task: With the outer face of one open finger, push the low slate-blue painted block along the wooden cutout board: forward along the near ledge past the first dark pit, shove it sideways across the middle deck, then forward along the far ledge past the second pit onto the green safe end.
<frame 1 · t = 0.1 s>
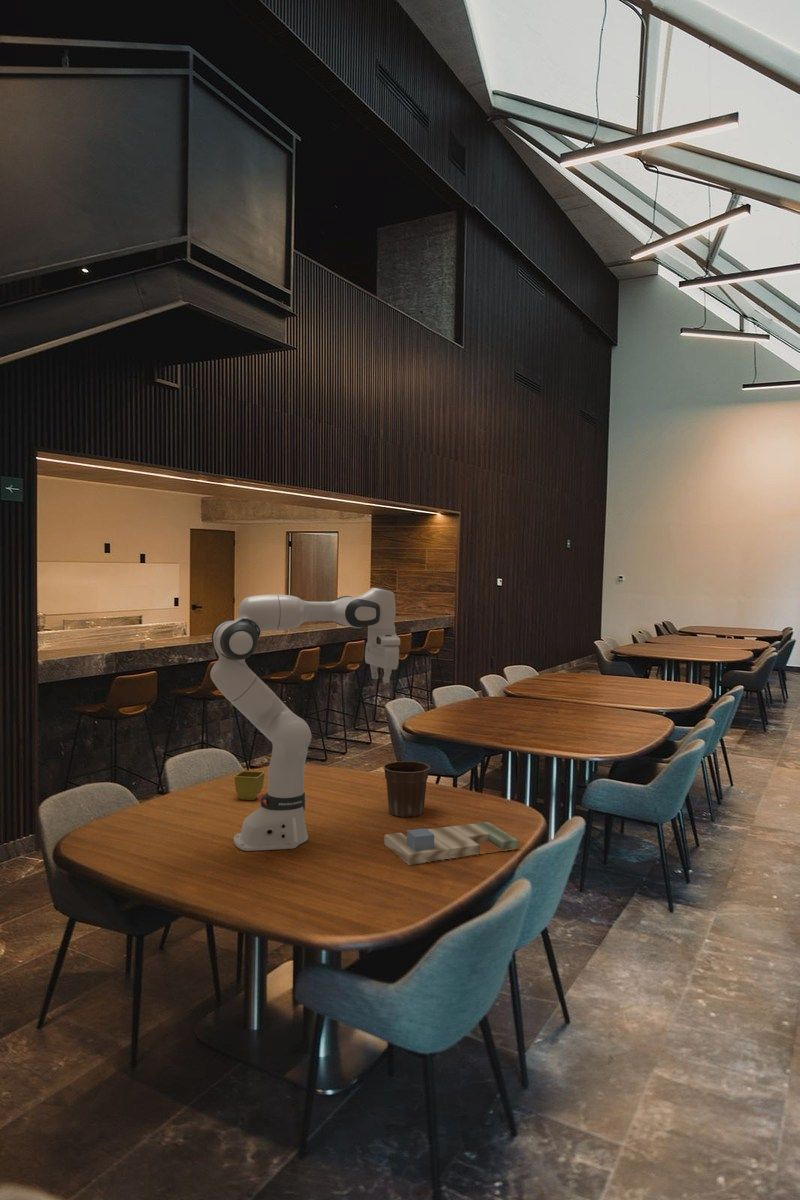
hand: (380, 680, 246), 48 cm above the table, fingers open, 8 cm apart
wooden cutout board: (450, 847, 231), on the table
flower pot: (249, 799, 276), on the table
plant pot: (405, 812, 264), on the table
slate block: (420, 846, 222), point 3 cm above the table, touching wooden cutout board
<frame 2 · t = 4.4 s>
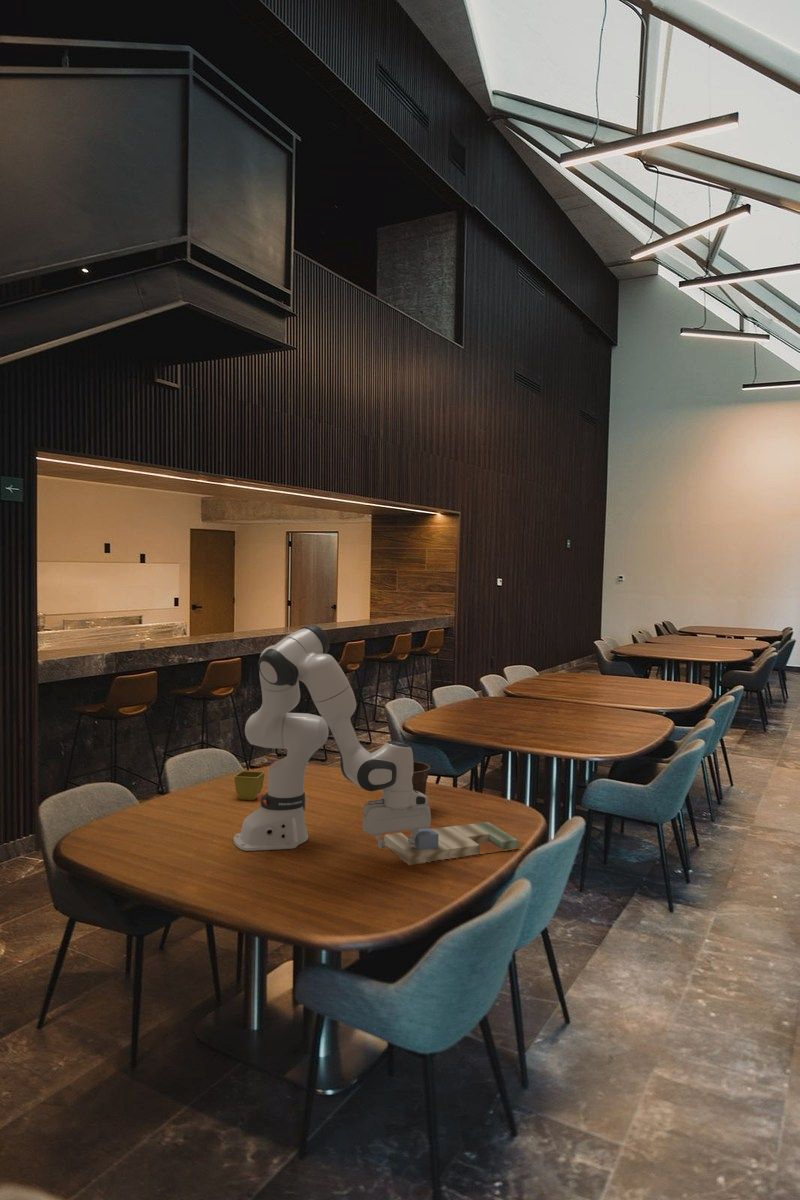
hand: (396, 845, 219), 4 cm above the table, fingers open, 8 cm apart
slate block: (424, 845, 223), point 3 cm above the table, touching gripper
everything else where it was.
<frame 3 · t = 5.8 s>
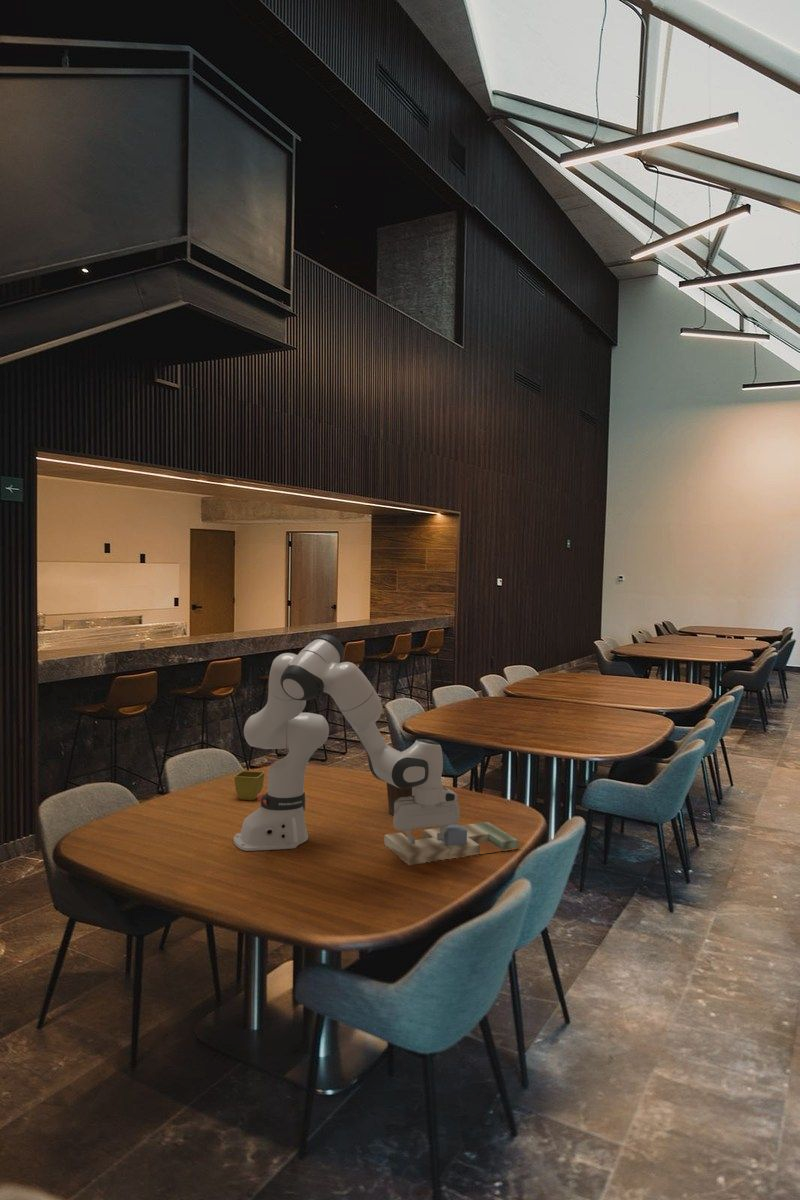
hand: (426, 841, 223), 4 cm above the table, fingers open, 8 cm apart
slate block: (452, 841, 227), point 3 cm above the table, touching gripper, wooden cutout board
everything else where it was.
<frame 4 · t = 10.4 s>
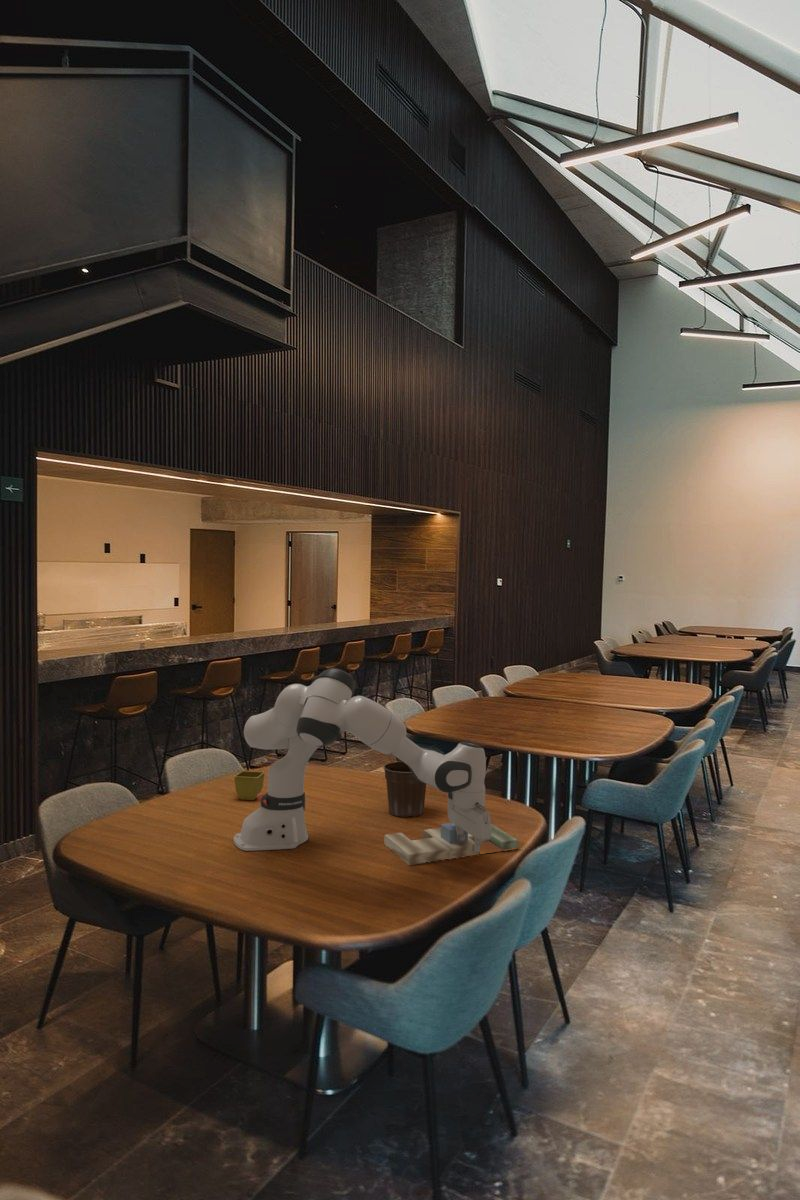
hand: (468, 845, 220), 4 cm above the table, fingers open, 8 cm apart
slate block: (454, 839, 229), point 3 cm above the table, touching gripper
everything else where it was.
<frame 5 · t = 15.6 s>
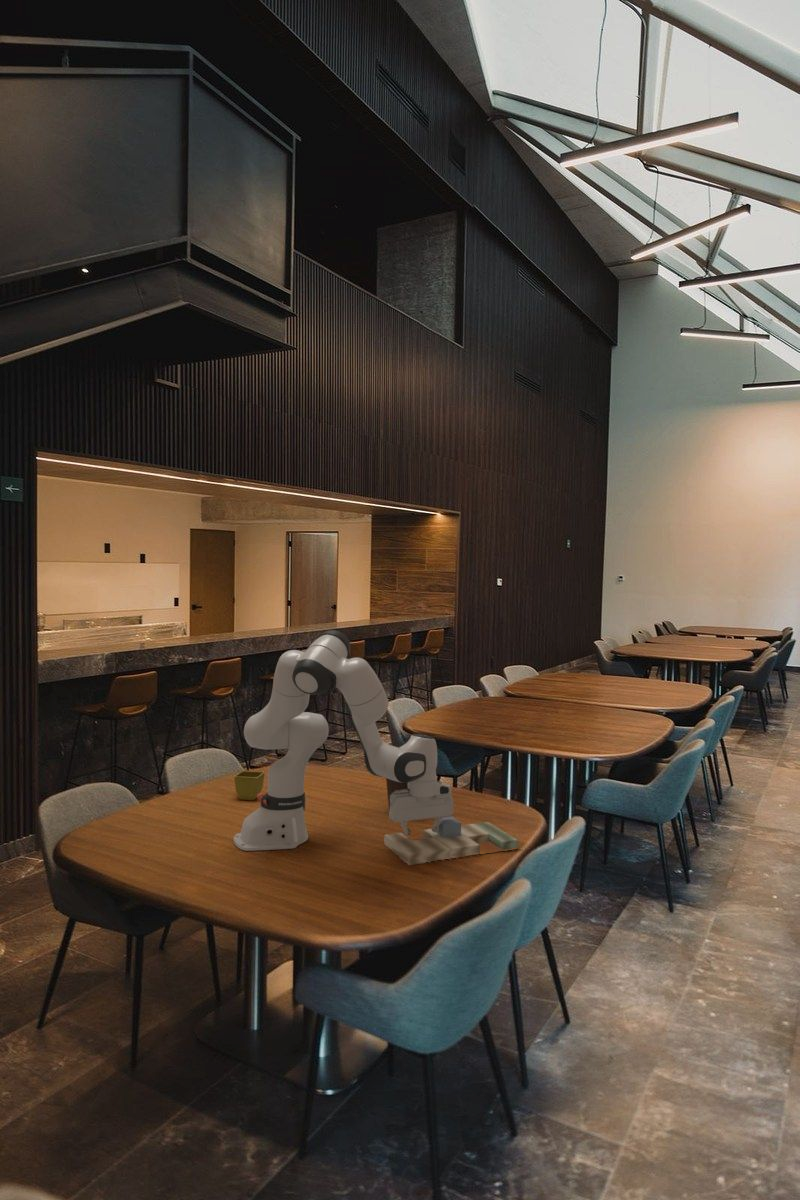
hand: (421, 833, 230), 4 cm above the table, fingers open, 8 cm apart
slate block: (447, 833, 234), point 3 cm above the table, touching gripper
everything else where it was.
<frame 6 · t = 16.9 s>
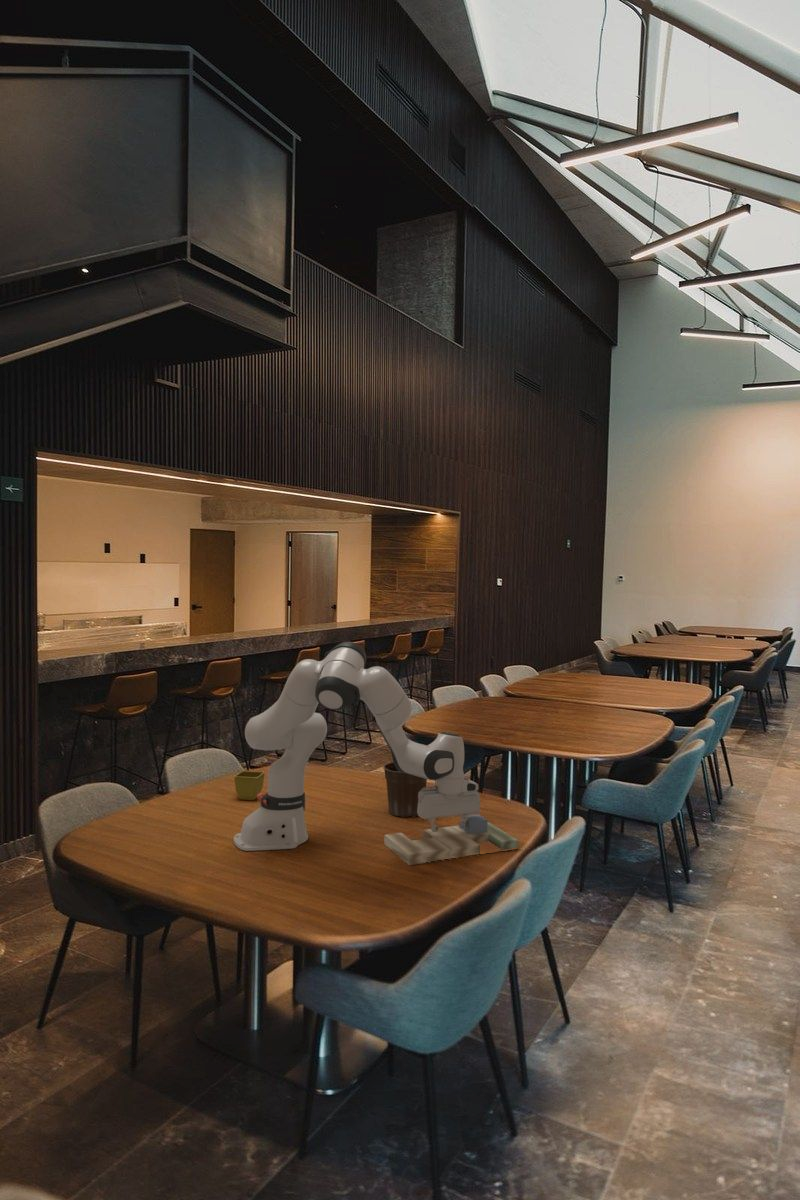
hand: (448, 829, 234), 4 cm above the table, fingers open, 8 cm apart
slate block: (474, 830, 237), point 3 cm above the table, touching gripper
everything else where it was.
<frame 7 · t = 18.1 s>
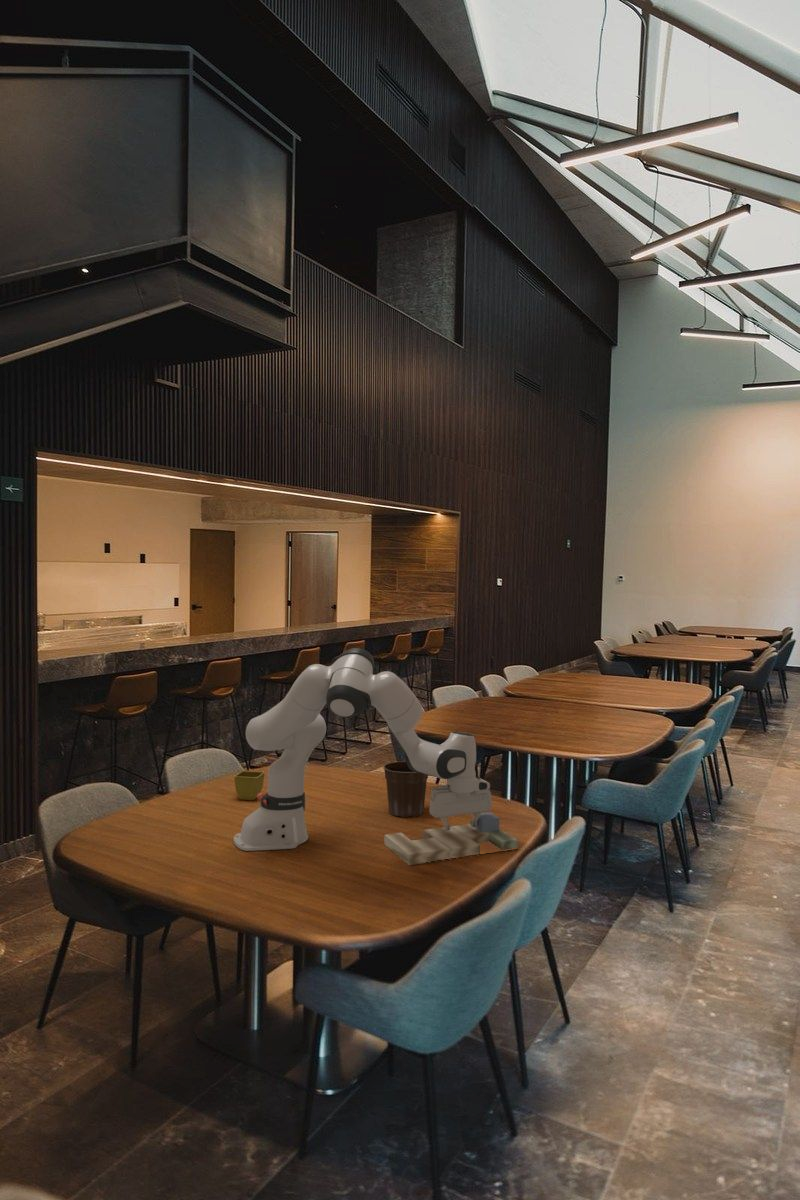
hand: (460, 828, 236), 4 cm above the table, fingers open, 8 cm apart
slate block: (486, 828, 239), point 3 cm above the table, touching gripper, wooden cutout board
everything else where it was.
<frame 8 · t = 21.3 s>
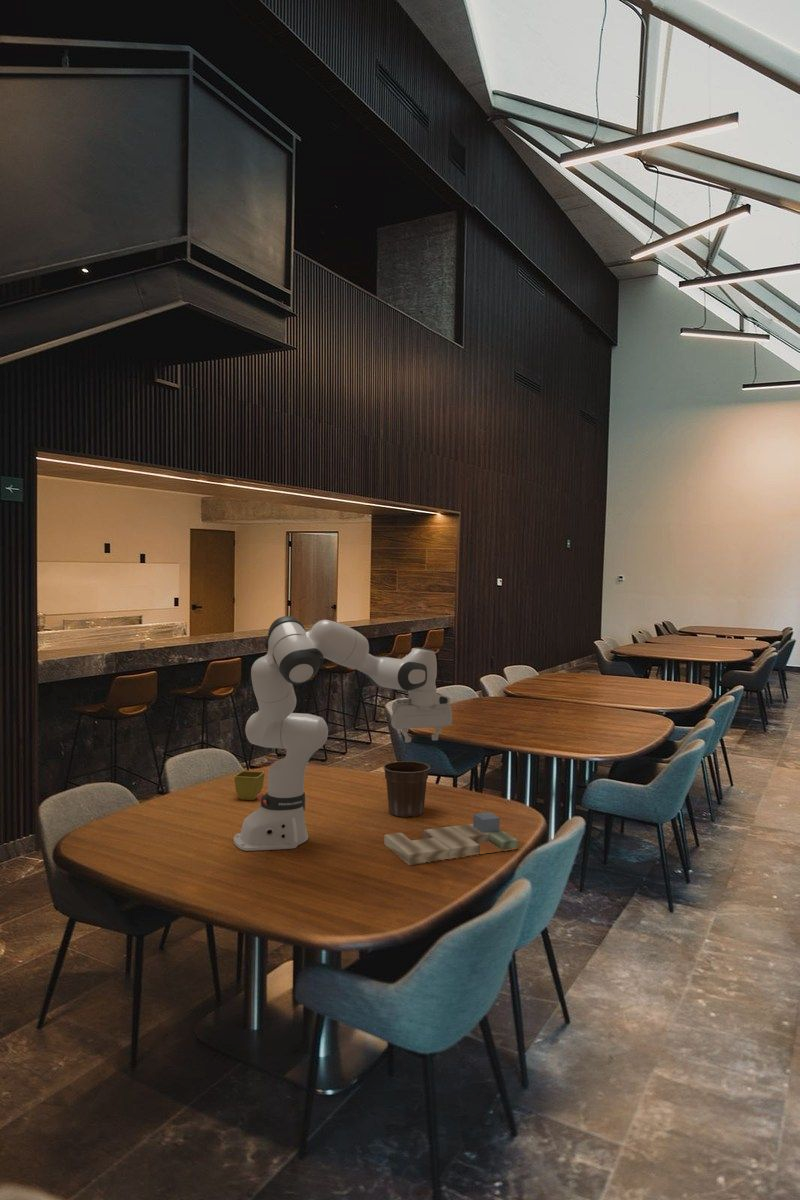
hand: (421, 741, 243), 29 cm above the table, fingers open, 8 cm apart
slate block: (486, 828, 239), point 3 cm above the table, touching wooden cutout board
everything else where it was.
at the end: slate block inside the target area on the wooden cutout board (3.3 cm from its centre), point 3.0 cm above the wooden cutout board's base; slate block tilted 0° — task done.
